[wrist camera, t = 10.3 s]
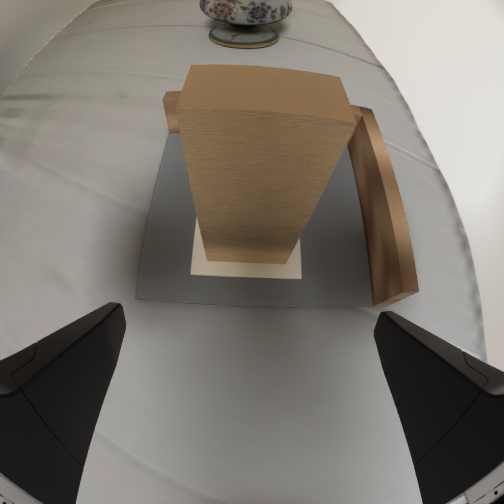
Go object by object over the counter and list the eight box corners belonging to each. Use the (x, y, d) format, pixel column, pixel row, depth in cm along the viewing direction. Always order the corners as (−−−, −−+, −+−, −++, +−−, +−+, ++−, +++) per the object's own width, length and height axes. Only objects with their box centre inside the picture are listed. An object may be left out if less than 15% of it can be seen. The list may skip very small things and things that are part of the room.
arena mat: (370, 306, 18) (373, 305, 17) (137, 299, 17) (134, 297, 17) (345, 147, 23) (347, 144, 23) (169, 136, 22) (168, 132, 22)
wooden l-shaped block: (285, 264, 18) (356, 123, 7) (207, 261, 18) (175, 109, 7) (282, 170, 21) (317, 26, 10) (216, 166, 21) (211, 18, 9)
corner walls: (386, 305, 18) (418, 291, 14) (137, 299, 17) (114, 282, 13) (356, 139, 24) (371, 109, 20) (172, 125, 23) (166, 91, 19)
